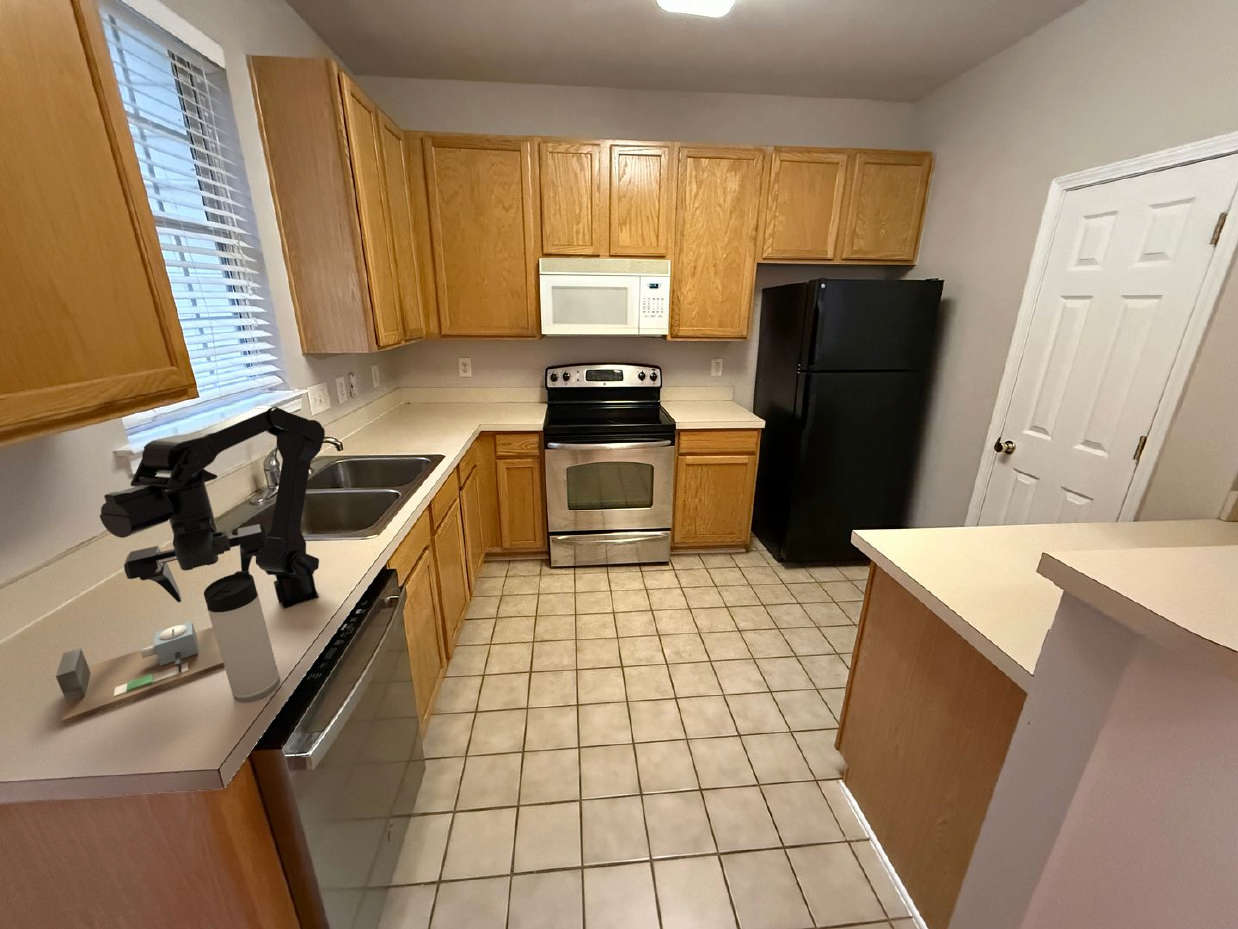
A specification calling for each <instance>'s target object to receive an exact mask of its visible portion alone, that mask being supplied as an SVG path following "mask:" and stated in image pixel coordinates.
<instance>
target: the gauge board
mask: <svg viewBox="0 0 1238 929" xmlns="http://www.w3.org/2000/svg"><path fill="white" fill-rule="evenodd" d="M195 633H196V636H197V639H198V653H197V654H194V655H191V656H188V657H185V658H182V659H181V665H180V666H177V667H176V665H175V661H173V662H170V663H168V664H165V665H162V666H161V665H160V662H159V659H158V656H157V654H155V655H152V656H149V657H146V658H142V655H141V649H140V650H136V651H133V652H130V653H126V654H124V655H120V656H118V657H114V658H112V659H109V660H108V659H107V660H105V661H102V662H99V663H96V664H92V665H90V666H89V665H88V662H87V660H86V657H85V655H84V652H83V650H82V648H81V647H80V648H77V649H73V650H69V651H67V652H64V653H62V656H61V659H60V662H59V665H58V669H57V671H56V674H55V678H56V681H57V682H58V685H59V687H60V689H61V693H62V694H63V697H64V699H65V701H66V704H65V708H64V712H63V715H62V719H61V721H62V723H63V726H66V725H68V724H71V723H75V722H77V721H79V720H80V721H81V720H82V719H85V718H89V717H91V716H94V715H96V713H97V714H99V713H98V712H100V711H102V712H105V711H107V709H108V710H110V709H109V708H111V709H113V708H116V707H118V706H117V705H119V706H121V704H122V705H124V704H126V702H127V703H130V702H132V701H131V700H133V701H135V700H134V699H136V700H138V699H140V698H144V697H146V696H149V695H151V693H152V694H154V693H157V692H160V691H163V690H167V689H168V688H167V687H169V688H171V687H174V686H177V685H179V684H182V683H185V682H187V681H190V680H193V679H196V678H198V677H201V676H204V675H207V674H210V673H213V672H216V671H218V670H220V669H221V670H222V669H223V668H224V669H225V667H224V663H223V660H222V657H221V653H220V650H219V646H218V643H217V640H216V636H215V633H214V630H213V626H211V627H209V628H205V629H202V630H199V631H195ZM162 689H163V690H162ZM148 694H149V695H148ZM143 696H144V697H143ZM129 701H130V702H129ZM123 703H124V704H123ZM115 706H116V707H115ZM112 707H113V708H112ZM100 713H101V712H100ZM93 714H94V715H93Z"/></svg>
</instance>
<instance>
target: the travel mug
mask: <svg viewBox="0 0 1238 929" xmlns="http://www.w3.org/2000/svg"><path fill="white" fill-rule="evenodd" d="M203 597H204V600H205V603H206V606H207V608H206V609H207V612H208V616H209V620H210V622H211V627H213V630H214V633H215V636H216V640H217V643H218V646H219V650H220V653H221V657H222V660H223V663H224V670H225V673H226V676H227V680H228V684H229V687H230V691H231V694H232V697H233V699H234V700H235V701H236V702H238V703H241V704H242V703H243V704H247V703H251V702H257V701H259V700H261V699H264V698H265V697H267V696H269V695H271V694H272V693H273V692H274V691H275V690H276V689H277V688H278V687H279V685H280V683H281V678H280V674H279V671H278V667H277V666H278V665H277V663H276V659H275V656H274V651H273V648H272V644H271V639H270V635H269V631H268V628H267V625H266V620H265V616H264V612H263V608H262V605H261V601H260V597H259V593H258V591H257V586H256V583H255V578H254V576H253V575H252V574H251V573H250V571H241V570H238V571H236V572H234V573H233V574H229V575H227V576H224V577H221V578H218V579H217V580H215V581H213V582H212V583H210V584H209V585H208V586H207V587H205V589H204V591H203Z"/></svg>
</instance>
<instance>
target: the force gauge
mask: <svg viewBox="0 0 1238 929" xmlns="http://www.w3.org/2000/svg"><path fill="white" fill-rule="evenodd" d="M153 641H154V642H153V645H150V646H147V647H145V648H141V649H140V650H141V655H142V658H146V657H149V656H152V655H155V654H157V656H158V659H159V662H160V665H161V666H162V665H165V664H168V663H170V662H173V661H175V665H176V667H177V666H180V665H181V659H182V658H185V657H188V656H191V655H194V654H197V653H198V639H197V636H196V630H195V626H194V623H193V620H191V621H187V622H184V623H180V624H178V625H174V626H171V627H168V628H164V629H160V630H158V631H154V640H153Z"/></svg>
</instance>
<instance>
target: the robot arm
mask: <svg viewBox="0 0 1238 929" xmlns="http://www.w3.org/2000/svg"><path fill="white" fill-rule="evenodd" d="M265 432H266V433H267V434H270V435H271V436H274V437H276V447H277V450H278V452H279V455H280V456H281V458H282V463H281V468H280V469H281V470H280V474H279V479H278V480H279V481H278V485H277V493H276V499H275V503H274V504H275V505H274V511H273V516H272V517H273V518H272V522H271V523H272V524H271V528H270V529H269V530H268V532H266V528H265V526H264V525H262V524H260V523H258V524H254V525H248V526H245V527H239V528H237V534H235V535H231V536H229V535H228V533H227V530H221V531H219V530H218V526H217V522H216V520H215V516H214V512H213V511H214V510H213V509H212V505H211V500H210V497H209V494H208V490H207V486H206V483H207V482H210V481H213V480H215V479H217V478H218V475H217V474H215V473H212V472H211V471H208V470H206V469H205V468H206V467H208V466H210V465H211V464H213V462H215V459H216V457H218V455H219V454H221V453H222V452H224V451H226V450H228V449H230V448H233V447H235V446H237V445H238V444H242V443H243V442H245V441H248V440H250V439H251V438H254V437H257V436H258V435H260V434H263V433H265ZM325 432H326V430H325V428H324V427H323V426H322V424H321V423H320V421H317V420H316V419H307V418H306V417H304V416H303V417H302V416H300V415H297V414H294V413H290V412H288V411H286V410H284V409H283V408H280V407H278V406H271V405H270V406H267V405H266V406H264V405H258V406H255V407H253V408H252V409H251V410H249V411H246V412H244V413H241V414H239V415H237V416H234V417H232V418H229V419H227V420H224V421H221V422H219V423H216V424H215V425H212V426H210V427H207V428H204V429H202V430H199V431H196V432H191V433H185V434H179V435H178V434H177V435H172V436H167V437H163V438H158V439H154V440H151V441H150V442H148V443H147V444H145V445H144V446H143V451H142V453H141V454H142V455H141V460H140V463H139V465H138V467H137V469H136V471H135V473H134V475H133V477H132V479H131V481H130V484H129V485H130V487H131V488H128V489H124V490H120V491H113V492H109V493H105V495H104V499H105V502H104V503H103V504H102V505H101V508H100V514H99V518H100V521H101V523H102V525H103V526H104V527H105V529H106V530H107V531H108V532H109V533H110V534H112V535H113V536H115V537H117V538H120V539H124V538H127V537H131V536H133V535H136V534H138V533H141V532H143V531H146V530H149V529H152V528H154V527H156V526H159V525H162V524H164V523H166V522H169V524H170V528H171V531H172V534H173V540H172V545H173V548H172V549H168V550H167V549H166V550H163V551H162V550H161V548H160V547H159V545H156V546H151V547H145V548H141V549H137V550H132V551H130V552H129V553H128V554H127V555H126V559H125V561H124V564H123V570H124V572H125V575H126V577H127V579H128V580H133V579H137V578H139V579H140V581H148V580H149V581H152V582H155V583H157V584H158V585H159V586H161V587H162V588H163V589H164V590H165V591H166V592H167V593H168V594H169V595H170V596H171V597H172V599H174V600H175V601H176V602H177V603H181V602H182V596H181V591H180V588H179V587H178V584H177V582H176V580H175V577H174V575H173V573H172V571H171V568H170V567H169V564H168V563H170V562H173V561H177V562H178V564H179V567H180V569H181V570H182V571H185V572H186V571H193V569H196V568H200V567H203V566H211V565H214V564H216V563H217V562H219V555H223V554H225V552H228V551H229V552H230V551H231V549H232V548H234V547H239V556H240V558H239V559H240V568H241V569H240V571H249V570H250V565H251V562H252V559H253V557H255V564H256V566H258V567H259V569H261V570H262V571H264V572H265V574H266V575H269V576H272V575H273V576H275V580H274V581H273V586H274V590H275V594H276V598H277V601H278V603H279V604H281V605H282V607H283V609H286V608H291V607H294V606H296V605H299V604H303V603H306V602H308V601H312V600H315V599H318V598H320V595H319V593H318V591H317V588H316V583H315V579H314V573H315V572H316V571H318V569H319V566H320V565H319V564H320V559H319V558H318V557H315V556H313V555H310V554H308V553H307V542H306V539H305V537H304V535H303V533H302V531H301V525H302V518H303V512H304V507H305V501H306V500H305V499H306V493H307V488H308V481H309V474H310V467H311V463H312V461H313V460H314V459H315V457H316V456H318V454H319V453H320V452H321V449H322V447H323V443H324V440H325V437H326V436H325V435H326V433H325ZM158 474H159V475H170V476H166V477H165V476H157V475H158ZM249 572H250V571H249Z"/></svg>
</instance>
